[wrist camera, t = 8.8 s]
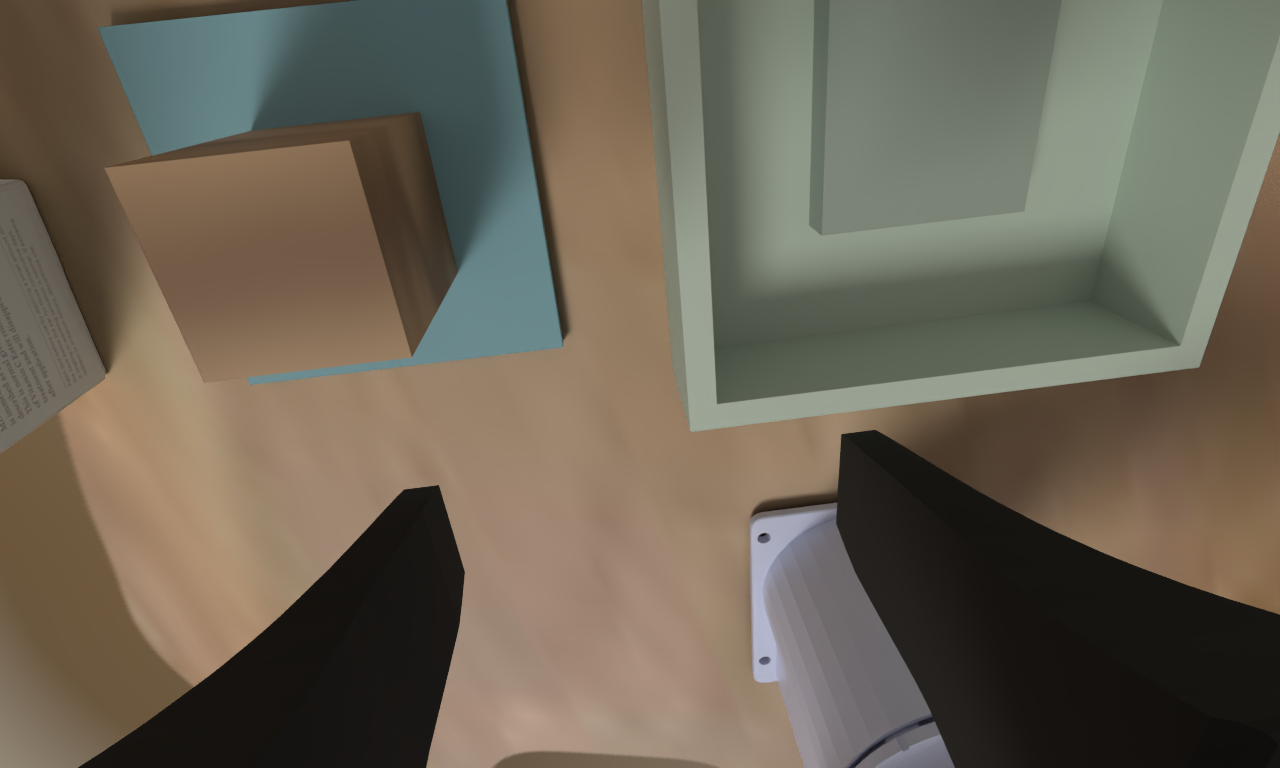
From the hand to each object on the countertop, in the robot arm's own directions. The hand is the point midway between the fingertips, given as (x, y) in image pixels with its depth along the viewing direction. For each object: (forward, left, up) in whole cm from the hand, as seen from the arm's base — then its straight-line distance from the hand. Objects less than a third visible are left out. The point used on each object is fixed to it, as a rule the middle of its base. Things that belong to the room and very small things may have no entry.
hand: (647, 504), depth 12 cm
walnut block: (+4, +7, -10) cm, 13 cm away
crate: (+5, -9, -11) cm, 15 cm away
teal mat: (+4, +7, -10) cm, 13 cm away
